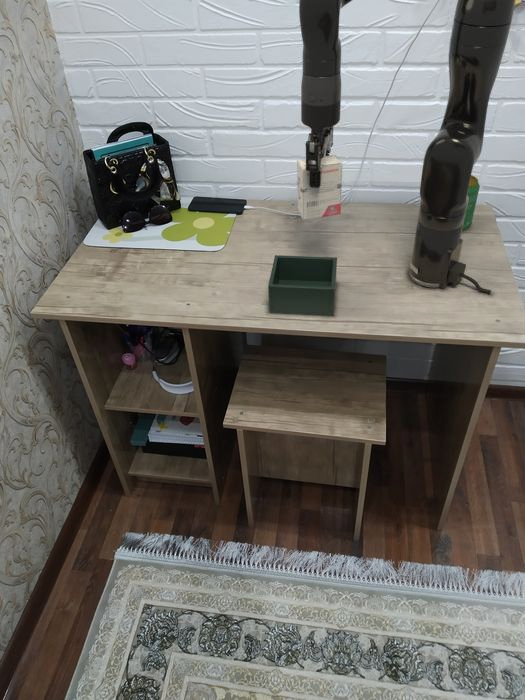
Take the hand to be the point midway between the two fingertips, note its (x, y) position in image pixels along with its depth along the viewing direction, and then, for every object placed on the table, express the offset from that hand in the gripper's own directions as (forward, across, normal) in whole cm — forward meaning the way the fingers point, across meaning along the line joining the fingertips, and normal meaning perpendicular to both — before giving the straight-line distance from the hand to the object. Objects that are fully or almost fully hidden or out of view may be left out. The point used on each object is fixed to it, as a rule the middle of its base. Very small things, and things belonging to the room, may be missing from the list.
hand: (319, 178), depth 119 cm
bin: (+22, -13, 0) cm, 25 cm away
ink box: (+8, 0, 0) cm, 8 cm away
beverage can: (+22, +26, -29) cm, 45 cm away
